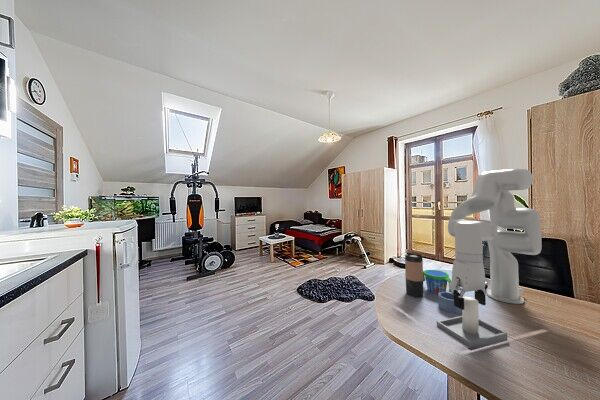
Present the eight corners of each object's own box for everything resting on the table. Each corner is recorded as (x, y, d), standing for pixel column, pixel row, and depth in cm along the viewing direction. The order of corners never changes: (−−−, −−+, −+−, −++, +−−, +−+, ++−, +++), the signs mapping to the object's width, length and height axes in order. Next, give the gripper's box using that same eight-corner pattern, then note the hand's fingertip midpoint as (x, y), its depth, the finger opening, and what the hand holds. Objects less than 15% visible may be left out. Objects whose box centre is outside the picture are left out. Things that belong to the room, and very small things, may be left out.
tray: (469, 320, 81) (469, 314, 81) (507, 340, 69) (507, 333, 69) (436, 327, 77) (436, 321, 77) (471, 350, 65) (470, 342, 65)
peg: (468, 326, 76) (468, 295, 76) (481, 333, 72) (481, 301, 71) (459, 328, 75) (459, 297, 75) (472, 335, 70) (471, 303, 70)
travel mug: (426, 300, 98) (425, 257, 98) (408, 299, 99) (407, 257, 99) (420, 293, 105) (419, 253, 105) (403, 292, 107) (403, 253, 107)
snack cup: (415, 288, 111) (415, 268, 111) (432, 285, 114) (431, 267, 114) (441, 301, 96) (440, 279, 96) (459, 298, 98) (459, 277, 98)
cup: (448, 304, 94) (448, 290, 94) (467, 313, 86) (466, 299, 86) (434, 307, 92) (433, 293, 92) (451, 316, 84) (451, 301, 84)
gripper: (475, 252, 79) (476, 297, 79) (439, 256, 75) (440, 304, 75) (499, 257, 72) (500, 307, 72) (460, 262, 67) (461, 315, 67)
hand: (469, 305), depth 73 cm, fingers open, 9 cm apart
